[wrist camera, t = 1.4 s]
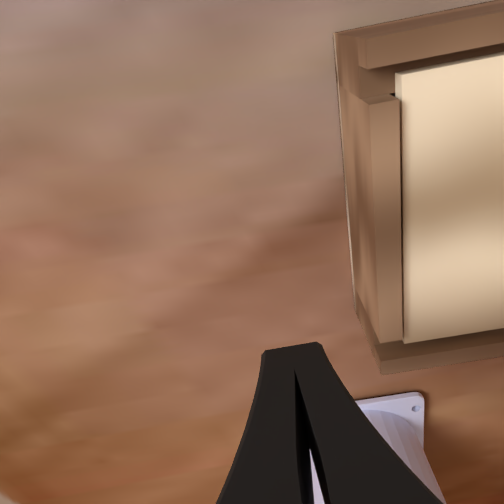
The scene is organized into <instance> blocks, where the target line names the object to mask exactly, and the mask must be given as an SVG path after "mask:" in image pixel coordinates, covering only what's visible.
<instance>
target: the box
mask: <svg viewBox="0 0 504 504" xmlns="http://www.w3.org/2000/svg"><path fill="white" fill-rule="evenodd" d="M333 44H334V56H335V69H336V81H337V94H338V107H339V119H340V132H341V144H342V157H343V170H344V182H345V195H346V207H347V220H348V233H349V245H350V258H351V270H352V283H353V296H354V308H355V311H356V314H357V316H358V319H359V321H360V324H361V326H362V329H363V331H364V334H365V336H366V338H367V341H368V343H369V346H370V348H371V351H372V353H373V356H374V358H375V361H376V363H377V365H378V368H379V370H380V373H381V375H388V374H394V373H400V372H407V371H413V370H420V369H426V368H433V367H439V366H445V365H452V364H458V363H465V362H471V361H478V360H484V359H490V358H497V357H503V356H504V328H501V329H494V330H488V331H482V332H476V333H469V334H463V335H457V336H450V337H444V338H438V339H432V340H425V341H419V342H413V343H407V344H404V342H403V340H402V267H401V190H400V112H399V99H398V98H396V97H395V73H396V72H401V71H406V70H412V69H417V68H422V67H427V66H432V65H437V64H442V63H447V62H453V61H458V60H463V59H468V58H473V57H478V56H483V55H489V54H494V53H499V52H504V0H494V1H489V2H484V3H479V4H474V5H469V6H464V7H460V8H455V9H450V10H445V11H440V12H435V13H430V14H425V15H420V16H415V17H410V18H405V19H400V20H395V21H390V22H385V23H380V24H375V25H370V26H365V27H360V28H355V29H350V30H345V31H340V32H335V33H333Z"/></svg>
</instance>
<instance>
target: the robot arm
mask: <svg viewBox="0 0 504 504" xmlns="http://www.w3.org/2000/svg"><path fill="white" fill-rule="evenodd" d="M423 446H424V398H423V396H422V394H421V393H419V392H410V393H404V394H397V395H391V396H384V397H378V398H371V399H364V400H358V401H355V400H354V399H353V398H352V396H351V395H350V394H349V392H348V391H347V389H346V388H345V386H344V385H343V383H342V381H341V380H340V378H339V377H338V375H337V374H336V372H335V370H334V369H333V367H332V365H331V363H330V362H329V360H328V358H327V356H326V354H325V352H324V349H323V347H322V345H321V344H319V343H318V342H312V343H306V344H300V345H294V346H288V347H282V348H276V349H270V350H265V352H264V353H263V354H262V357H261V366H260V373H259V378H258V383H257V387H256V391H255V395H254V399H253V403H252V406H251V410H250V413H249V417H248V420H247V423H246V427H245V430H244V433H243V436H242V439H241V441H240V444H239V447H238V450H237V453H236V455H235V458H234V461H233V464H232V466H231V469H230V471H229V474H228V476H227V479H226V481H225V484H224V486H223V488H222V491H221V493H220V495H219V498H218V500H217V502H216V504H446V501H445V499H444V497H443V494H442V492H441V490H440V487H439V485H438V483H437V480H436V478H435V476H434V474H433V471H432V469H431V467H430V464H429V462H428V460H427V457H426V455H425V453H424V450H423Z"/></svg>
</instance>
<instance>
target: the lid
mask: <svg viewBox="0 0 504 504" xmlns="http://www.w3.org/2000/svg"><path fill="white" fill-rule="evenodd" d="M395 97H396V98H398V99H399V112H400V190H401V267H402V340H403V342H404V344H407V343H413V342H419V341H425V340H432V339H438V338H444V337H450V336H457V335H463V334H469V333H476V332H482V331H488V330H494V329H501V328H504V52H499V53H494V54H489V55H483V56H478V57H473V58H468V59H463V60H458V61H453V62H447V63H442V64H437V65H432V66H427V67H422V68H417V69H412V70H406V71H401V72H396V73H395Z"/></svg>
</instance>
